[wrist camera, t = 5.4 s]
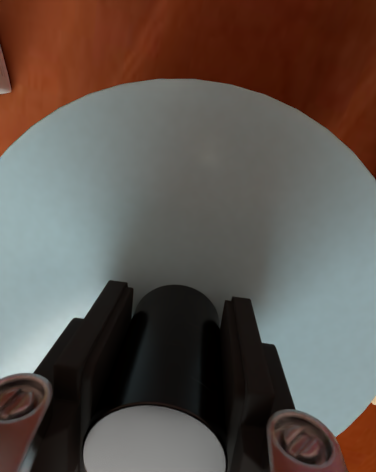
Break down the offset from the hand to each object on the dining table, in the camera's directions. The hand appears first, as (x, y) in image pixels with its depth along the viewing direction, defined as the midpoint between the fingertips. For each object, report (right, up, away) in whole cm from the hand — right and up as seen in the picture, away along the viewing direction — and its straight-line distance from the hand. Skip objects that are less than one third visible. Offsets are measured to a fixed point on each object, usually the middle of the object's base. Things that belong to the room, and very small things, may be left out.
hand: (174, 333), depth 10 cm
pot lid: (0, 0, +1) cm, 1 cm away
